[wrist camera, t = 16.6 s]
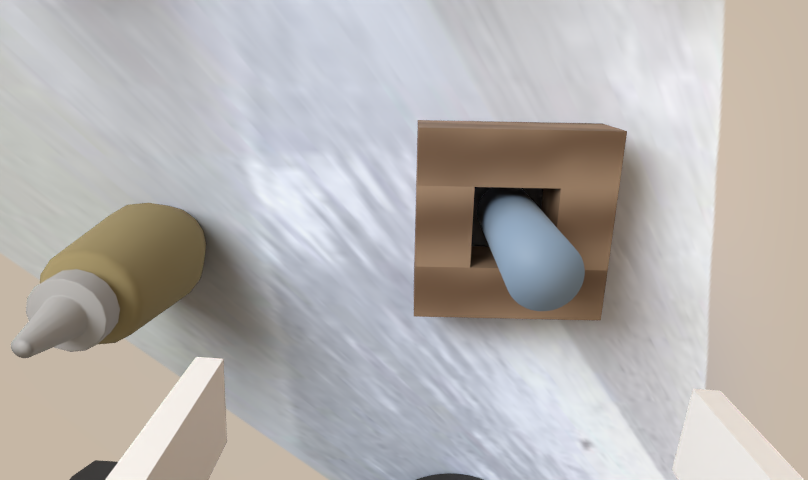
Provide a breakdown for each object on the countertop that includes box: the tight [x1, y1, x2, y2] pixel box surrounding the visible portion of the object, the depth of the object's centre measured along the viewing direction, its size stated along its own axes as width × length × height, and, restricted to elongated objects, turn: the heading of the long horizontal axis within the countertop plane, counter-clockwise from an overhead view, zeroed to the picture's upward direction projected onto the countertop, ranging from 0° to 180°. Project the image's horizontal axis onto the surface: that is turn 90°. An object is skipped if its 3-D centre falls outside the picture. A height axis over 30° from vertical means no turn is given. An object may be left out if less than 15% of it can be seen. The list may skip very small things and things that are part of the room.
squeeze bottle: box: [11, 203, 206, 358], centre depth 36 cm, size 8×8×18 cm
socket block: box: [414, 120, 627, 320], centre depth 41 cm, size 14×14×5 cm
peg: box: [477, 187, 585, 311], centre depth 37 cm, size 4×4×14 cm
